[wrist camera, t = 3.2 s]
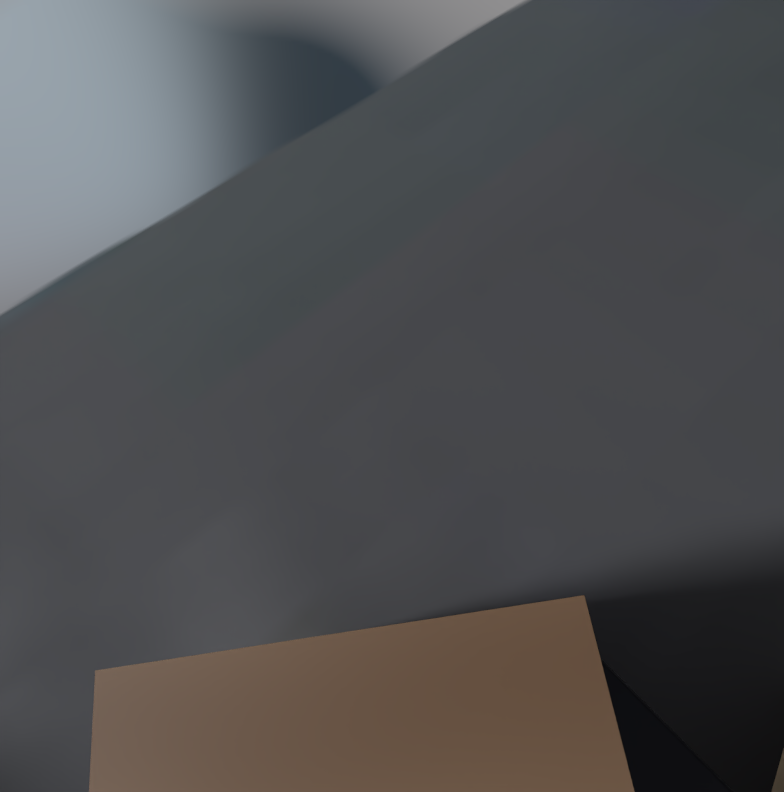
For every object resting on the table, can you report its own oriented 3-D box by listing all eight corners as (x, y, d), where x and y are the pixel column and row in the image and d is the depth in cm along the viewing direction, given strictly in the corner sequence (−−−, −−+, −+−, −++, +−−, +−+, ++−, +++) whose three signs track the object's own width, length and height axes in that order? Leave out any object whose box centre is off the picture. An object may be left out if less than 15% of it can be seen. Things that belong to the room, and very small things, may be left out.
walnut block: (558, 820, 13) (765, 1301, 4) (344, 847, 13) (59, 1348, 4) (514, 611, 15) (583, 595, 6) (325, 640, 15) (95, 670, 6)
